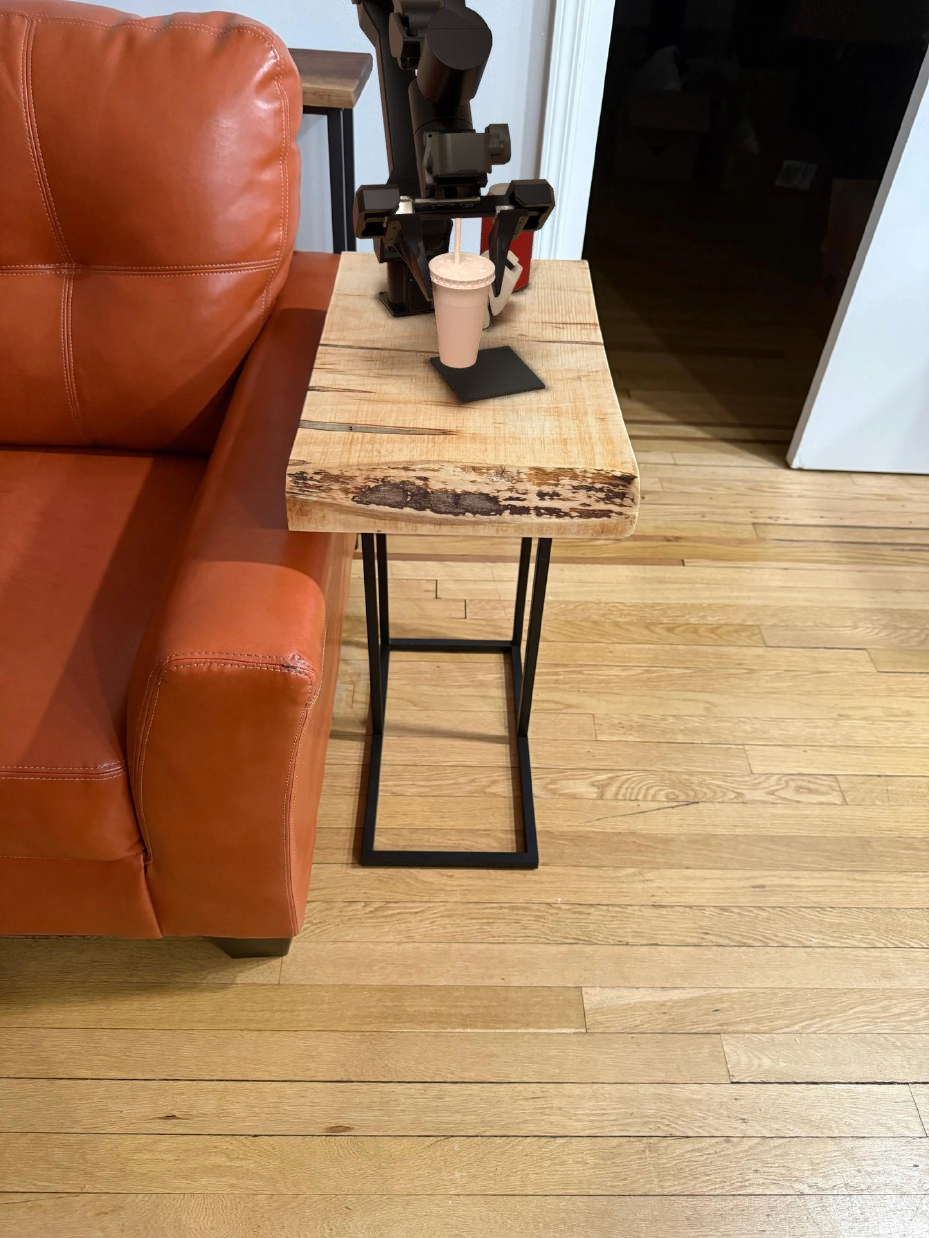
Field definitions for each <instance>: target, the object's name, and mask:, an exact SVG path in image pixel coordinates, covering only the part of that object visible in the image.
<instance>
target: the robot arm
mask: <svg viewBox="0 0 929 1238" xmlns="http://www.w3.org/2000/svg"><path fill="white" fill-rule="evenodd" d="M350 2H351V4H352V5H355V6H356V11H357V12H356V13H357V19H358V25H359V28H360V30H361V31H362V33H363V34H364V35H365V36H366V38H367V40H368V41H369V42H370V43H371V45H372V46H373V47H374V50H375V58H376V59H375V60H376V68H377V75H378V85H379V95H380V96H379V97H380V104H381V113H382V123H383V132H384V141H385V142H384V143H385V151H386V159H387V169H388V178H387V181H386V183H374V184H373V183H372V184H360V185H359V187H358V188H357V190H356V191H355V192H354V199H353V207H352V223H353V231H354V238H357V239H359V240H372V245H373V252H374V255H375V257H376V259H377V262H378V264H380V265H381V264H386V290H383V291H379V292H378V293H377V294H378V298H379V299H380V300H381V303H383V304H384V306H385V307H386V309H388V311H389V312H390V313H391V315H392V316H393V317H401V316H408V315H416V314H422V313H430V312H435V305H434V296H433V286H432V280H431V275H430V271H429V262H430V261H431V260H432V259H433V258H434V257H436V256H439V255H442V254H445V253H450V244H451V235H452V233H453V228H454V220H455V219H456V218H461V220H462V219H482V218H487V217H491V218H492V226H493V227H492V229H491V231H490V234H489V236H488V249H489V260H490V261H492V263H493V264H494V265H495V279H494V281H493V282H492V283H491V285H492V290H493V294H494V297H495V298H496V297H499V295H500V293H501V287H502V282H503V277H504V272H505V267H506V261H507V256H508V251H509V248H510V244H511V241H512V240H516V239H517V238H518V237H519V235H520V233H521V232H538V231H540V230H542V229H543V227H544V226H545V224H546V222H547V221H548V219H549V217H550V216H551V214H552V212H553V211H554V209H555V207H556V198H555V197H556V196H555V189H554V187H553V186H552V184H550V182H549V181H548V180H547V179H546V178H533V179H531V178H530V179H511V180H510V182H509V183H510V184H509V186H508V188H507V191H506V193H505V195H487V194H485V195H482V189H486V188H487V186H488V183H489V178H488V175H491V174H492V173H493V166H504V165H507V164H508V163H510V162H511V160H512V140H511V133H510V127H509V123H504V122H503V123H489V124H488V125H487V126H485V127H484V132H477V129H476V128H474V126H473V125H474V123H473V115H472V108H471V107H472V106H471V100H474V99H475V97H476V96H477V93H478V90H479V88H480V87H479V86H480V84H481V81H482V79H483V76H484V73H485V69H486V67H487V63H488V61H489V58H490V56H491V52H492V50H493V49H492V48H493V43H494V42H493V39H494V38H493V34H492V30H491V28H490V27H489V25H488V23H487V22H486V20H485V19H484V18H483V16H482V15H480V14H479V13H478V12H477V11H476V10H474V9H472V8H470V7H469V6H467V4H466V0H350Z"/></svg>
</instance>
